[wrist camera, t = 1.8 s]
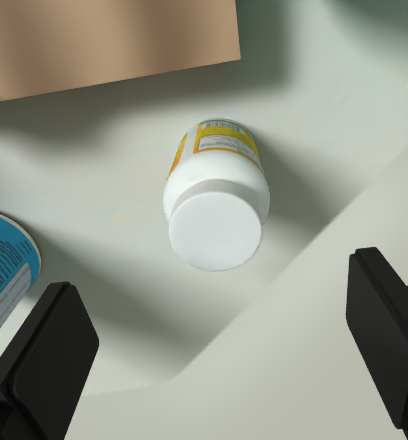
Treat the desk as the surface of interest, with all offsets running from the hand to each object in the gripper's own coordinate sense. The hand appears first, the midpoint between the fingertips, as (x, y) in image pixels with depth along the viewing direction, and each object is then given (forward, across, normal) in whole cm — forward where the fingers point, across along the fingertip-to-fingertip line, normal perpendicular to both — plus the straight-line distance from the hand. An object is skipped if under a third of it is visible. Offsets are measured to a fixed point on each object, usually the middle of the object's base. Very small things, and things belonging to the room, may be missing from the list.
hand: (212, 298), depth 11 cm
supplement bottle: (+13, 0, -1) cm, 13 cm away
